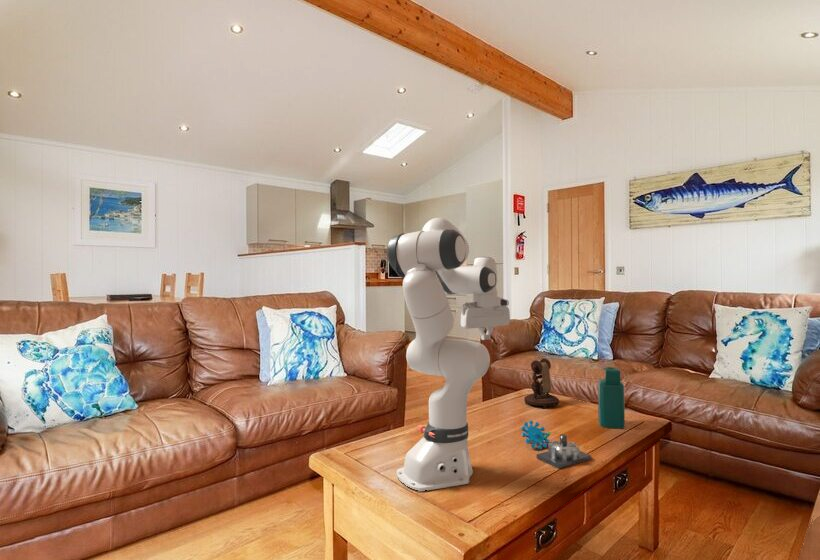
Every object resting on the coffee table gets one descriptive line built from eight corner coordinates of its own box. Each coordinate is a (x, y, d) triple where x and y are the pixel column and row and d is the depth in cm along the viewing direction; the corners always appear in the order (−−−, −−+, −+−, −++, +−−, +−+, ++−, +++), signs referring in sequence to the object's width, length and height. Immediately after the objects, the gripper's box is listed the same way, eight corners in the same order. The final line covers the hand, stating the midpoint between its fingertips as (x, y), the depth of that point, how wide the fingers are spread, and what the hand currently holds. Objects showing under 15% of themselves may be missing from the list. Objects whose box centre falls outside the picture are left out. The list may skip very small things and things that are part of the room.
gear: (528, 447, 143) (519, 419, 150) (520, 455, 147) (511, 427, 154) (557, 448, 146) (547, 420, 153) (548, 456, 150) (538, 428, 157)
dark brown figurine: (546, 411, 186) (546, 364, 186) (517, 404, 197) (517, 359, 197) (565, 404, 195) (565, 359, 195) (536, 397, 207) (536, 355, 207)
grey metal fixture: (558, 469, 131) (558, 444, 131) (536, 458, 138) (536, 435, 138) (591, 459, 137) (590, 436, 137) (568, 449, 145) (568, 427, 145)
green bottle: (597, 420, 173) (597, 364, 173) (621, 422, 171) (620, 365, 171) (601, 429, 164) (600, 369, 164) (626, 430, 162) (625, 370, 161)
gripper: (467, 303, 154) (467, 342, 154) (512, 300, 164) (512, 338, 164) (456, 302, 159) (457, 340, 159) (501, 300, 169) (501, 336, 169)
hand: (485, 339), depth 162 cm, fingers closed
